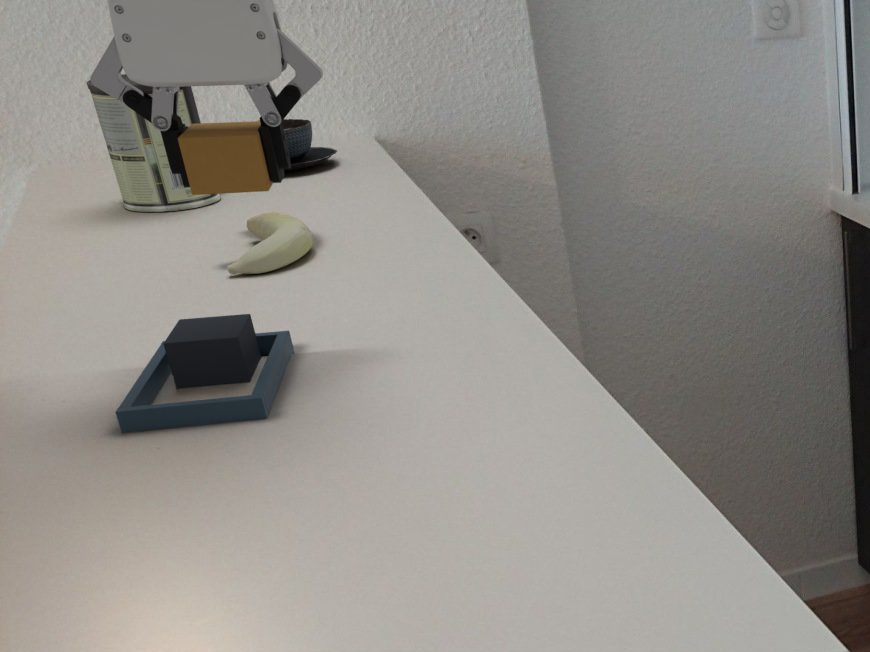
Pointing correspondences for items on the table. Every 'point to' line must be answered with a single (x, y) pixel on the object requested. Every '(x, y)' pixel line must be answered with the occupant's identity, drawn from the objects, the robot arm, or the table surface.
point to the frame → (145, 416)
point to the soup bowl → (303, 144)
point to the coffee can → (145, 154)
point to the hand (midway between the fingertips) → (234, 178)
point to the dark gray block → (212, 351)
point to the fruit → (273, 243)
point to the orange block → (224, 158)
